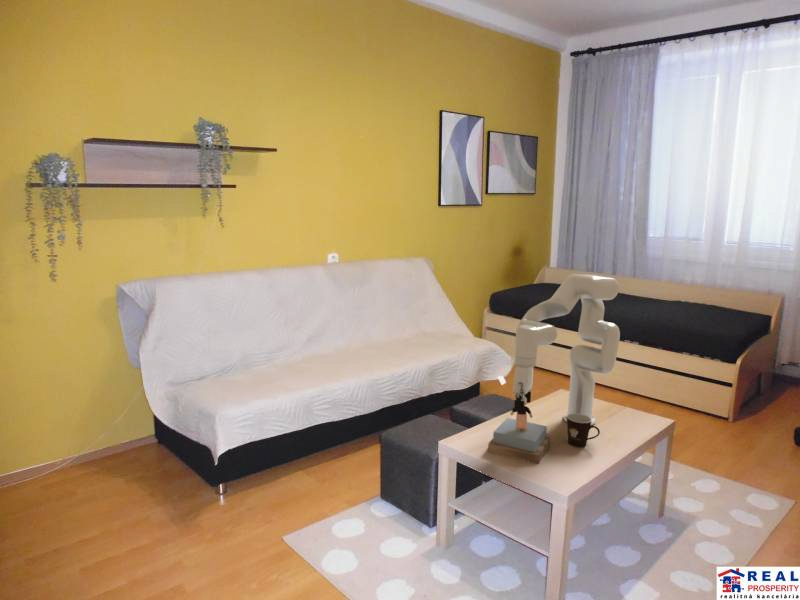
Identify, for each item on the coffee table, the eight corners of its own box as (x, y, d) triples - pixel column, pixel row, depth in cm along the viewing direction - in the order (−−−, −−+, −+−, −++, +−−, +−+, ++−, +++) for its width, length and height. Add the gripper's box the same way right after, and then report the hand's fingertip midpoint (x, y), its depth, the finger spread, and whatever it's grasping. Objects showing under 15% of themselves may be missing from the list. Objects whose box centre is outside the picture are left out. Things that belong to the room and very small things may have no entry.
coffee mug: (560, 440, 208) (562, 415, 206) (579, 437, 211) (581, 412, 209) (580, 453, 197) (582, 427, 195) (599, 450, 200) (602, 424, 198)
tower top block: (506, 427, 210) (507, 417, 210) (546, 436, 203) (546, 426, 202) (493, 442, 197) (493, 431, 197) (534, 452, 190) (535, 441, 190)
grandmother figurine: (529, 427, 201) (532, 394, 199) (532, 432, 197) (534, 398, 195) (508, 427, 201) (510, 393, 199) (510, 431, 197) (512, 397, 195)
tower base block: (502, 435, 213) (503, 425, 212) (549, 445, 205) (550, 435, 204) (487, 454, 197) (488, 443, 196) (538, 465, 189) (539, 455, 188)
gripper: (521, 352, 204) (518, 396, 207) (508, 365, 189) (505, 412, 192) (541, 355, 201) (538, 400, 204) (530, 368, 185) (526, 416, 189)
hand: (522, 406), depth 198 cm, fingers open, 9 cm apart
